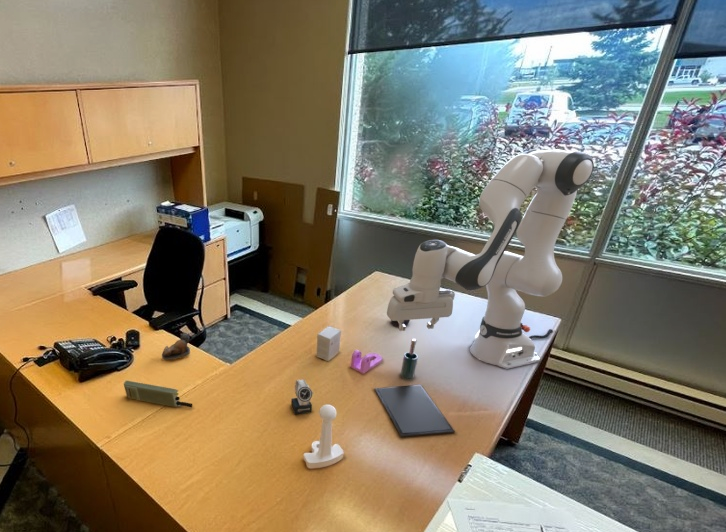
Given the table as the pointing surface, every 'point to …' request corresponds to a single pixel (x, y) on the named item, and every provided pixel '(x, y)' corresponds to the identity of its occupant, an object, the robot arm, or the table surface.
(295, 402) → the watch
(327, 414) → the joystick
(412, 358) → the stylus
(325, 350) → the small box
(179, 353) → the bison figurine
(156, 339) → the table surface
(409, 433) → the tablet
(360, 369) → the bracket
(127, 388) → the handheld radio
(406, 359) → the pen cup
